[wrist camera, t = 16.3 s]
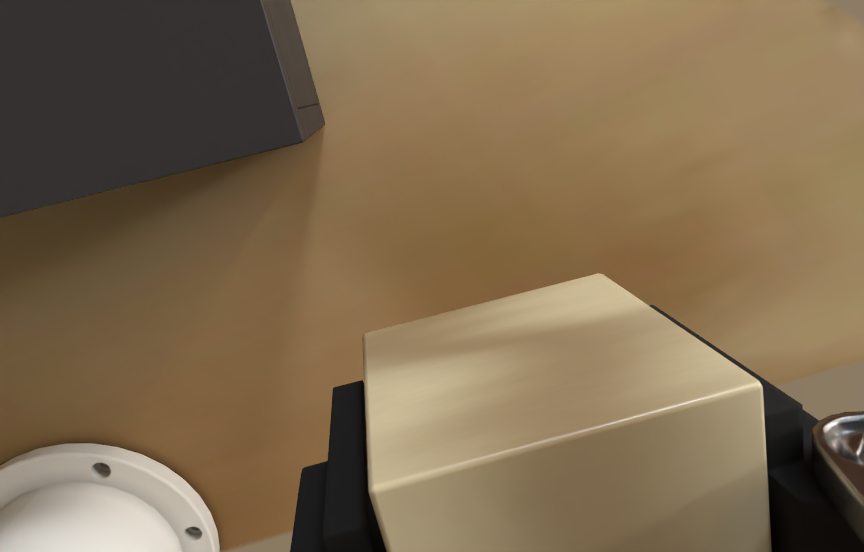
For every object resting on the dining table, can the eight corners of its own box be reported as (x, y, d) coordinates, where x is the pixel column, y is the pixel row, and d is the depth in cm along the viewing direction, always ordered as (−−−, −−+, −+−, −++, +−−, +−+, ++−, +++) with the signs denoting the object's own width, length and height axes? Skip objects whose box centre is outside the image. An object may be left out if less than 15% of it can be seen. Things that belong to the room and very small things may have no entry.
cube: (417, 533, 12) (453, 778, 8) (361, 332, 10) (367, 490, 6) (629, 475, 12) (781, 678, 8) (601, 271, 11) (766, 381, 6)
